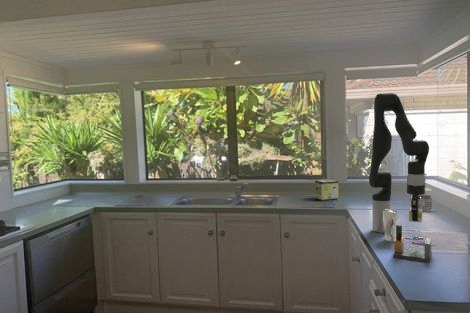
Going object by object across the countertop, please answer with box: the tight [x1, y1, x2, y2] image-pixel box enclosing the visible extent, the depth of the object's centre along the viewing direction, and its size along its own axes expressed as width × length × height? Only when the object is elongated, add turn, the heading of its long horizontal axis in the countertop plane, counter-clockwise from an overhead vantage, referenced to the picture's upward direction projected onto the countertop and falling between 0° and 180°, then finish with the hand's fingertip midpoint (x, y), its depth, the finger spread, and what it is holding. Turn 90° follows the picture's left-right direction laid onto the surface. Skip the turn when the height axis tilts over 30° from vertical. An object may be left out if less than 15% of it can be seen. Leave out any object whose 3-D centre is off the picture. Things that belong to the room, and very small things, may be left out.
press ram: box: [393, 224, 405, 253], centre depth 162 cm, size 7×3×11 cm, turn 148°
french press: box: [419, 173, 434, 213], centre depth 246 cm, size 10×12×25 cm
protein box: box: [314, 179, 339, 202], centre depth 295 cm, size 10×16×16 cm
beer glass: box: [383, 208, 399, 243], centre depth 182 cm, size 7×7×15 cm
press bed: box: [392, 236, 432, 263], centre depth 159 cm, size 12×14×8 cm
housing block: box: [408, 207, 423, 223], centre depth 169 cm, size 5×5×5 cm
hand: (415, 219), depth 169 cm, fingers closed on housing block, 5 cm apart
